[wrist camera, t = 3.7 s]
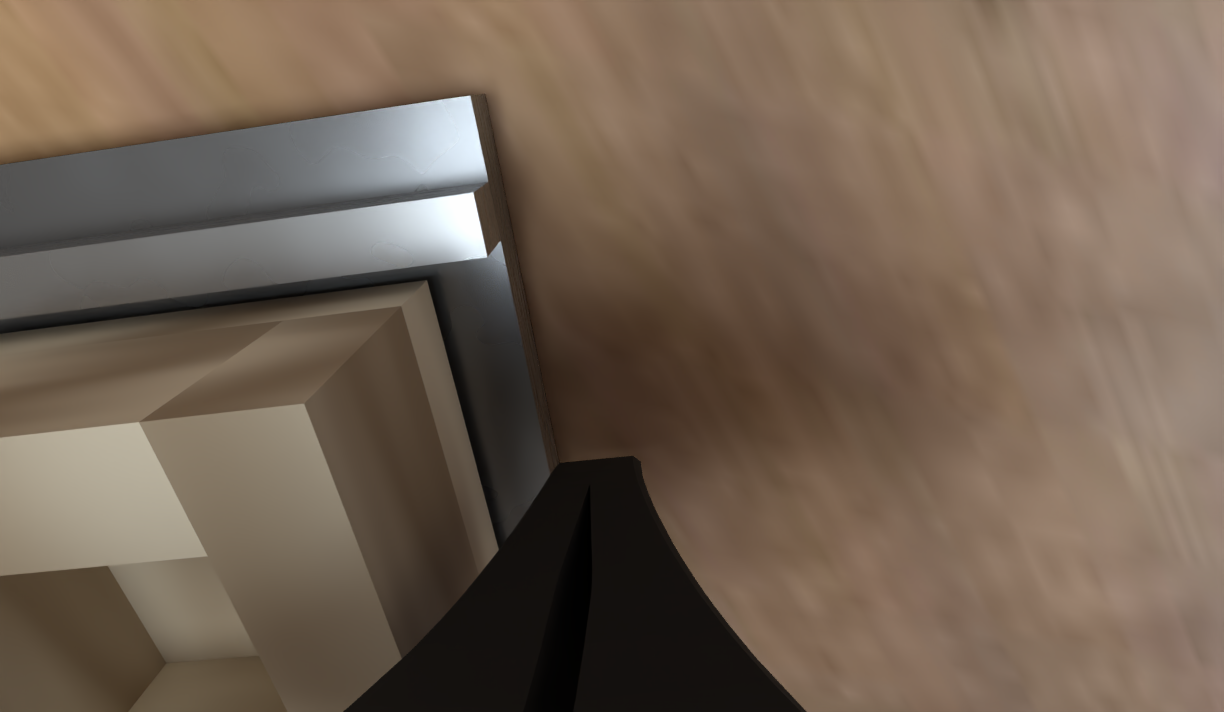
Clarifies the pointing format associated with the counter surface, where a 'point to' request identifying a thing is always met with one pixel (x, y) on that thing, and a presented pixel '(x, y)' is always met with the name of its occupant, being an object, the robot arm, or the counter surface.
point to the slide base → (300, 248)
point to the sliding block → (231, 504)
